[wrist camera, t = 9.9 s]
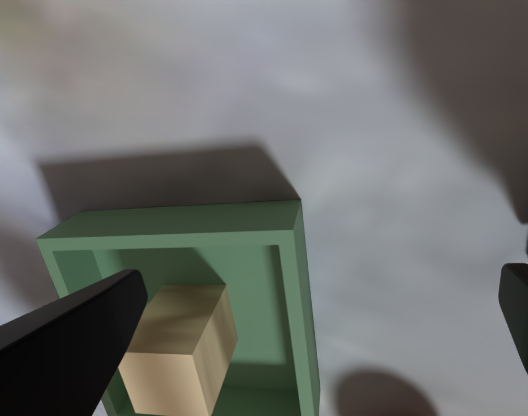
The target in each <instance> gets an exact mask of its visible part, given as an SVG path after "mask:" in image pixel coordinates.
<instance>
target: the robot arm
mask: <svg viewBox="0 0 528 416" xmlns="http://www.w3.org/2000/svg"><path fill="white" fill-rule="evenodd" d="M498 298H499V304H500V307H501V310H502V312H503V315H504V317H505V320H506V322H507V325H508V328H509V330H510V333H511V335H512V338H513V341H514V343H515V346H516V348H517V351H518V354H519V356H520V359H521V361H522V363H523V366H524V368H525V370H526V372H527V374H528V264H526V263H507V264H504V265H503V267H502V270H501V278H500V286H499V294H498ZM147 301H148V293H147V290H146V286H145V283H144V280H143V276H142V274H141V272H140V271H139V270H138V269H125V270H122V271H120V272H118V273H115V274H113V275H111V276H109V277H107V278H104V279H102V280H100V281H98V282H96V283H93V284H91V285H89V286H87V287H85V288H82V289H80V290H78V291H76V292H74V293H71V294H69V295H67V296H65V297H63V298H60V299H58V300H56V301H54V302H52V303H49V304H47V305H45V306H43V307H41V308H38V309H36V310H34V311H32V312H30V313H27V314H25V315H23V316H21V317H19V318H16V319H14V320H12V321H10V322H8V323H5V324H3V325H1V326H0V416H92V415H93V413H94V411H95V409H96V407H97V405H98V404H99V402H100V400H101V398H102V396H103V394H104V392H105V391H106V389H107V387H108V385H109V383H110V381H111V380H112V378H113V376H114V374H115V372H116V370H117V368H118V367H119V365H120V363H121V361H122V359H123V357H124V355H125V353H126V351H127V349H128V347H129V345H130V343H131V340H132V338H133V335H134V333H135V331H136V328H137V326H138V324H139V321H140V319H141V316H142V314H143V312H144V309H145V307H146V305H147Z"/></svg>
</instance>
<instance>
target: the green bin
mask: <svg viewBox="0 0 528 416" xmlns="http://www.w3.org/2000/svg"><path fill="white" fill-rule="evenodd" d="M36 242H37V244H38V247H39V249H40V252H41V254H42V257H43V259H44V261H45V264H46V266H47V269H48V271H49V274H50V276H51V278H52V281H53V283H54V286H55V288H56V291H57V293H58V295H59V298H63V297H65V296H67V295H69V294H71V293H74V292H76V291H78V290H80V289H82V288H85V287H87V286H89V285H91V284H93V283H96V282H98V281H100V280H102V279H104V278H107V277H109V276H111V275H113V274H115V273H118V272H120V271H122V270H125V269H138V270H139V271H140V272H141V274H142V276H143V280H144V283H145V286H146V290H147V293H148V301H147V305H146V307H147V306H148V304H149V303H150V302H151V300H152V299H153V298H154V296H155V295H156V294H157V292H158V291H159V290H160V288H161V287H162V286H163V285H227V290H228V294H229V299H230V304H231V309H232V313H233V318H234V323H235V327H236V332H237V337H238V341H237V344H236V347H235V350H234V352H233V355H232V358H231V361H230V364H229V367H228V369H227V372H226V375H225V378H224V381H223V383H222V386H221V389H220V392H219V395H218V398H217V400H216V403H215V406H214V409H213V412H212V414H211V416H319V403H320V380H319V370H318V361H317V351H316V341H315V331H314V321H313V311H312V302H311V292H310V282H309V272H308V262H307V252H306V243H305V233H304V223H303V213H302V203H301V199H299V200H280V201H262V202H244V203H226V204H207V205H189V206H171V207H152V208H134V209H116V210H97V211H80V212H78V213H77V214H75V215H74V216H72V217H70V218H69V219H67V220H65V221H64V222H62V223H61V224H59V225H57V226H56V227H54V228H52V229H51V230H49V231H48V232H46V233H44V234H43V235H41V236H39V237H38V238H36ZM146 307H145V308H146ZM101 400H102V403H103V405H104V407H105V410H106V412H107V415H108V416H165V415H153V414H141V413H135V410H134V408H133V405H132V402H131V400H130V397H129V394H128V392H127V389H126V387H125V384H124V381H123V379H122V376H121V373H120V371H119V368H117V370H116V372H115V374H114V376H113V378H112V380H111V381H110V383H109V385H108V387H107V389H106V391H105V392H104V394H103V396H102V398H101Z"/></svg>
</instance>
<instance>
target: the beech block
mask: <svg viewBox="0 0 528 416" xmlns="http://www.w3.org/2000/svg"><path fill="white" fill-rule="evenodd" d="M237 341H238V337H237V332H236V327H235V323H234V318H233V313H232V309H231V304H230V299H229V294H228V290H227V285H163V286H162V287H161V288H160V290H159V291H158V292H157V294H156V295H155V296H154V298H153V299H152V300H151V302H150V303H149V304H148V306H147V307H146V308H145V309H144V312H143V314H142V316H141V319H140V321H139V324H138V326H137V328H136V331H135V333H134V335H133V338H132V340H131V343H130V345H129V347H128V349H127V351H126V353H125V355H124V357H123V359H122V361H121V363H120V365H119V367H118V368H119V371H120V373H121V376H122V379H123V381H124V384H125V387H126V389H127V392H128V394H129V397H130V400H131V402H132V405H133V408H134V410H135V413H141V414H153V415H165V416H211V414H212V412H213V409H214V406H215V403H216V400H217V398H218V395H219V392H220V389H221V386H222V383H223V381H224V378H225V375H226V372H227V369H228V367H229V364H230V361H231V358H232V355H233V352H234V350H235V347H236V344H237Z"/></svg>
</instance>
